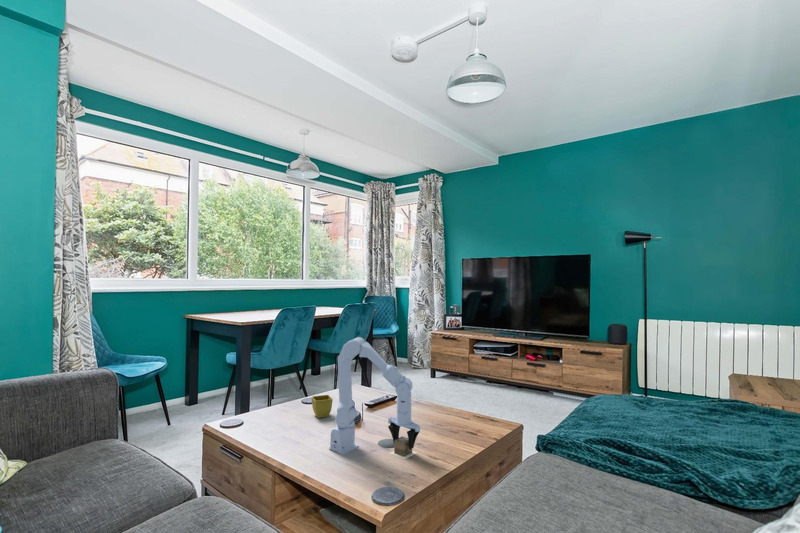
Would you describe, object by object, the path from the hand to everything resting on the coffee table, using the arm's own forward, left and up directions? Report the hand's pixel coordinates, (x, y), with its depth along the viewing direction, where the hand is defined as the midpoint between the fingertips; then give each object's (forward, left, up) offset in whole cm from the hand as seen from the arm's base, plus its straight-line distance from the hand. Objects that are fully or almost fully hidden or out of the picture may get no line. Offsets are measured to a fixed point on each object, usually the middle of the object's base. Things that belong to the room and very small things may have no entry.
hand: (403, 445), depth 156 cm
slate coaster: (+3, +10, -3) cm, 11 cm away
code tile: (0, 0, -3) cm, 3 cm away
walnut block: (0, 0, -3) cm, 3 cm away
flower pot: (+7, +57, -3) cm, 58 cm away
